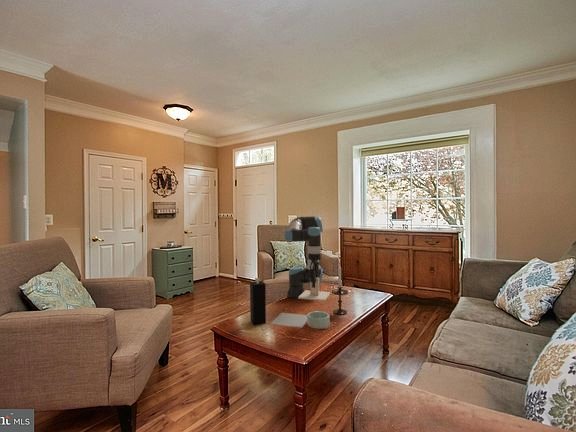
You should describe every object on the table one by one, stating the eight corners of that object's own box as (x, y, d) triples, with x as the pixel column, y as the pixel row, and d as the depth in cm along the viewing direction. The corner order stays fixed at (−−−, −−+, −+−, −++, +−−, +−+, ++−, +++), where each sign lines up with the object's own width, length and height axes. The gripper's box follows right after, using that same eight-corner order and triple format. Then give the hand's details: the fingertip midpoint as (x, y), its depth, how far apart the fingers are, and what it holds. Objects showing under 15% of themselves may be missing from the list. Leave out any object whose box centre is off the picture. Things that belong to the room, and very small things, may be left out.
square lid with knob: (305, 291, 188) (305, 274, 188) (330, 293, 182) (330, 276, 182) (298, 298, 173) (297, 280, 172) (325, 301, 167) (324, 282, 167)
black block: (250, 321, 184) (249, 277, 183) (262, 320, 186) (261, 275, 186) (253, 326, 176) (252, 279, 176) (266, 324, 179) (265, 278, 178)
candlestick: (348, 315, 192) (347, 262, 191) (331, 314, 194) (330, 261, 193) (348, 310, 202) (347, 259, 201) (332, 309, 204) (331, 259, 204)
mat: (281, 313, 198) (281, 312, 198) (310, 316, 191) (310, 315, 191) (270, 324, 179) (270, 323, 179) (301, 328, 172) (301, 327, 172)
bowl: (310, 319, 186) (310, 310, 185) (331, 322, 181) (331, 312, 181) (305, 327, 173) (305, 317, 173) (327, 330, 169) (326, 320, 169)
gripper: (311, 251, 186) (312, 288, 186) (304, 254, 171) (305, 295, 171) (323, 251, 183) (323, 289, 184) (317, 255, 168) (317, 296, 169)
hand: (314, 291), depth 177 cm, fingers closed on square lid with knob, 3 cm apart
